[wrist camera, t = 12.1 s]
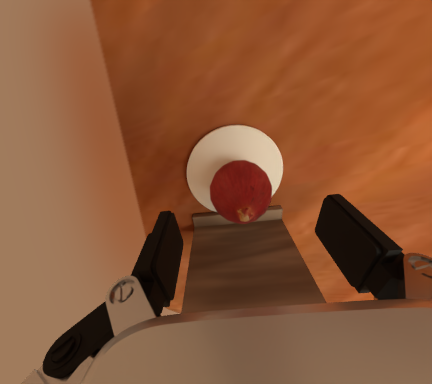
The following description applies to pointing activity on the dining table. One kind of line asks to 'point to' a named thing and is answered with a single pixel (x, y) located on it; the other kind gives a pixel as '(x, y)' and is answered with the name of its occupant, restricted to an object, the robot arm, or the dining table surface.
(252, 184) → the onion
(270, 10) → the dining table surface
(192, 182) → the coaster
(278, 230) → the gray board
